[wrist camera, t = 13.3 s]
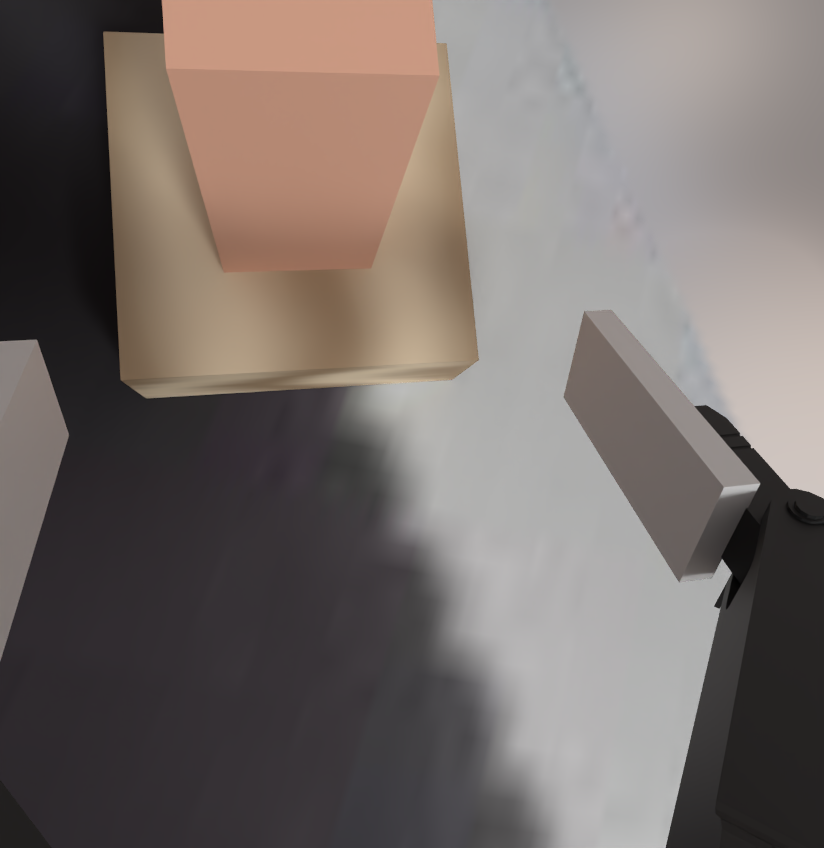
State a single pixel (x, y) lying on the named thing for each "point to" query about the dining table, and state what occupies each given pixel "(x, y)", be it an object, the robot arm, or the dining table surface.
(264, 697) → the dining table surface
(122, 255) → the plinth
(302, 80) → the block
